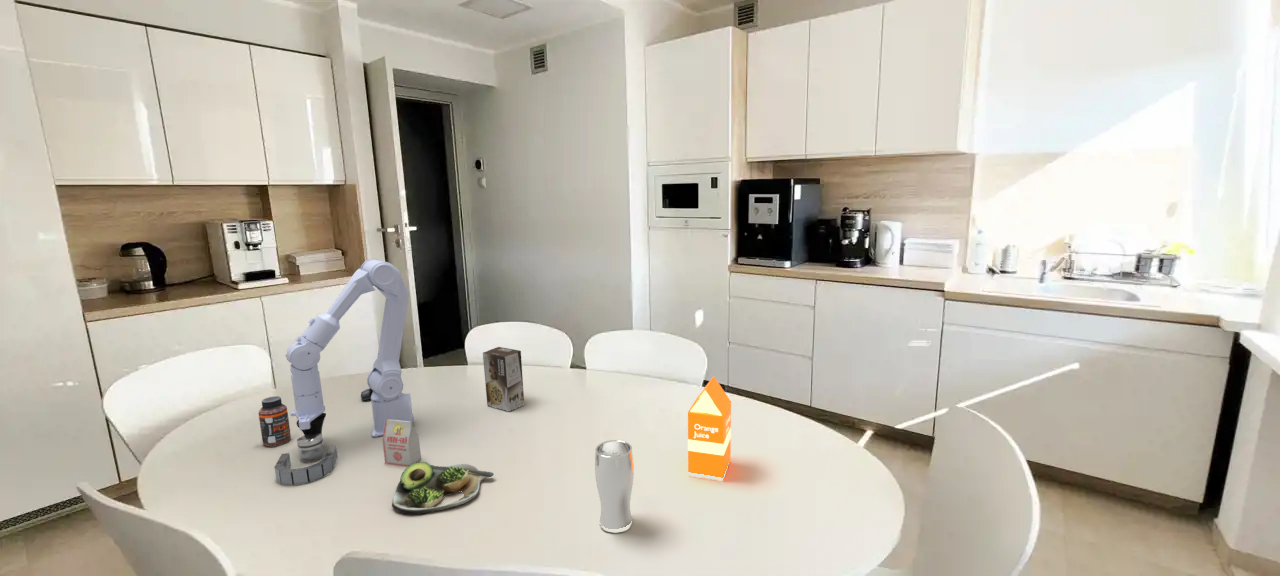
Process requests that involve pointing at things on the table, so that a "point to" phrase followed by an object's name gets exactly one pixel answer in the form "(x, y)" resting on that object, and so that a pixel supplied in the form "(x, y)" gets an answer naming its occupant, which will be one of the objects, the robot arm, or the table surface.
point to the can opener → (366, 394)
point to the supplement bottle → (274, 422)
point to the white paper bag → (400, 443)
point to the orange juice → (709, 431)
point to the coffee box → (503, 378)
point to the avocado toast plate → (435, 486)
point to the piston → (310, 447)
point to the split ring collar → (304, 469)
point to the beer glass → (614, 482)
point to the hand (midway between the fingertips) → (315, 445)
